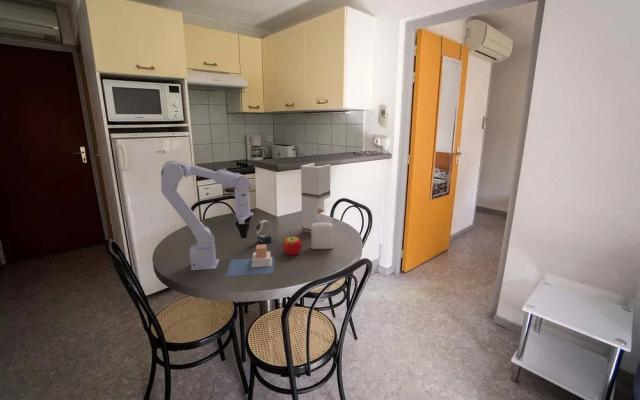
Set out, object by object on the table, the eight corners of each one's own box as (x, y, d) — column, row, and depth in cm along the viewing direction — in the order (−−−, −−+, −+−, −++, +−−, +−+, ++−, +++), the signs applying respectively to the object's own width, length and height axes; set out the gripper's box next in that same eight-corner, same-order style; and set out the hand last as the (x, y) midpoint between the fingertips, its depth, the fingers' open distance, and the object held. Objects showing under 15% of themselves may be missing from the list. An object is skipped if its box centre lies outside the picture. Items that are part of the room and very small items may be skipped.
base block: (252, 266, 121) (252, 259, 121) (254, 258, 128) (253, 252, 127) (270, 265, 122) (269, 258, 121) (270, 257, 129) (270, 251, 128)
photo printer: (311, 249, 138) (310, 224, 135) (311, 245, 142) (311, 221, 139) (333, 249, 138) (333, 224, 135) (333, 245, 142) (333, 221, 139)
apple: (292, 248, 139) (291, 228, 137) (306, 253, 134) (305, 232, 131) (279, 254, 133) (278, 233, 130) (292, 260, 128) (292, 238, 125)
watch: (254, 242, 146) (252, 221, 143) (269, 238, 151) (268, 217, 148) (259, 246, 142) (258, 224, 139) (274, 242, 147) (273, 220, 144)
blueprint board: (225, 277, 114) (225, 276, 114) (231, 260, 127) (231, 259, 127) (273, 274, 116) (273, 272, 116) (274, 258, 130) (274, 256, 130)
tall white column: (319, 234, 156) (318, 167, 147) (302, 231, 161) (300, 165, 152) (330, 228, 165) (330, 164, 156) (313, 224, 170) (313, 163, 161)
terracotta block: (256, 257, 122) (255, 248, 121) (257, 253, 126) (256, 244, 125) (266, 257, 123) (265, 248, 122) (266, 253, 126) (266, 244, 125)
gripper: (250, 208, 118) (253, 240, 122) (253, 198, 132) (255, 228, 136) (232, 209, 118) (235, 241, 121) (237, 199, 131) (239, 228, 135)
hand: (244, 234), depth 128 cm, fingers open, 7 cm apart
